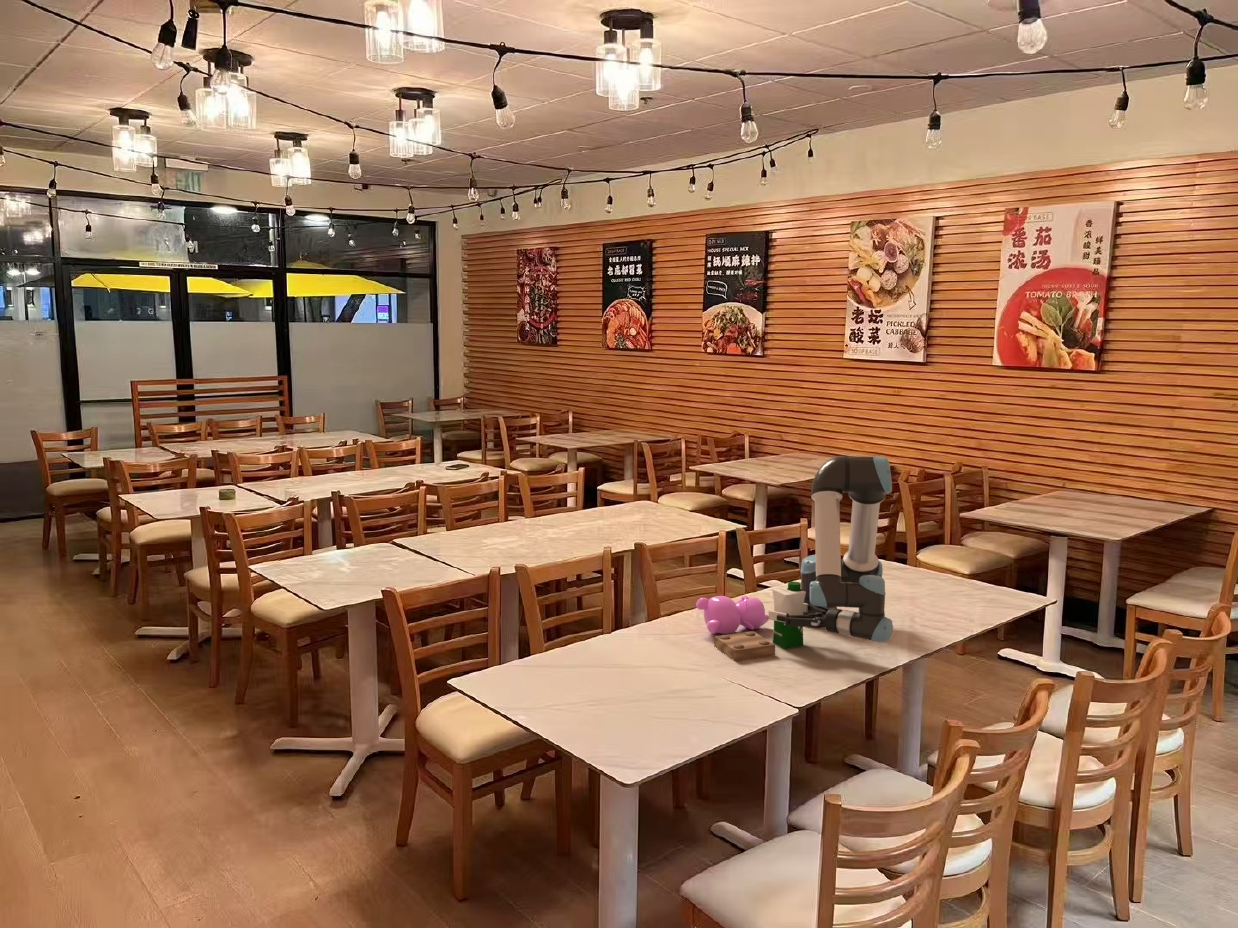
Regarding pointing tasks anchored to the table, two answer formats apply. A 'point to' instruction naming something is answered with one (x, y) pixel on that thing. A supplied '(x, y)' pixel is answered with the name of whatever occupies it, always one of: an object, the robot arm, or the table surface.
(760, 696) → the table surface
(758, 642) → the base brick
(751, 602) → the toy character
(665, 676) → the table surface
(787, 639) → the soya milk
